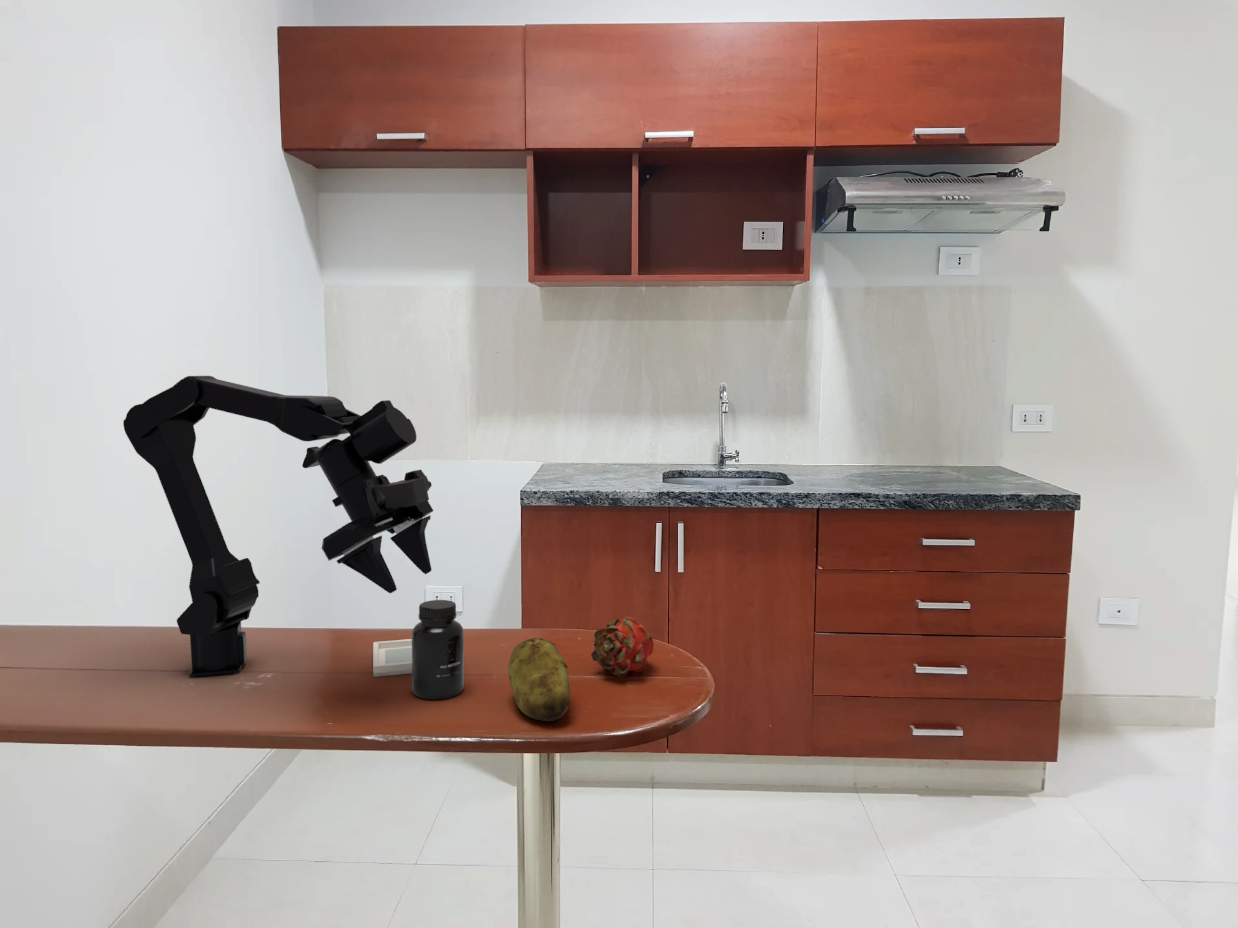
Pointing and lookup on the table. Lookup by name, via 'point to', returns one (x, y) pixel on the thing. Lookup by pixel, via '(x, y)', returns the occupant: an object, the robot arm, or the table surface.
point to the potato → (539, 679)
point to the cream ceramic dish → (392, 657)
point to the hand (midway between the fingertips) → (411, 581)
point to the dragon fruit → (622, 646)
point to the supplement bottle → (437, 651)
